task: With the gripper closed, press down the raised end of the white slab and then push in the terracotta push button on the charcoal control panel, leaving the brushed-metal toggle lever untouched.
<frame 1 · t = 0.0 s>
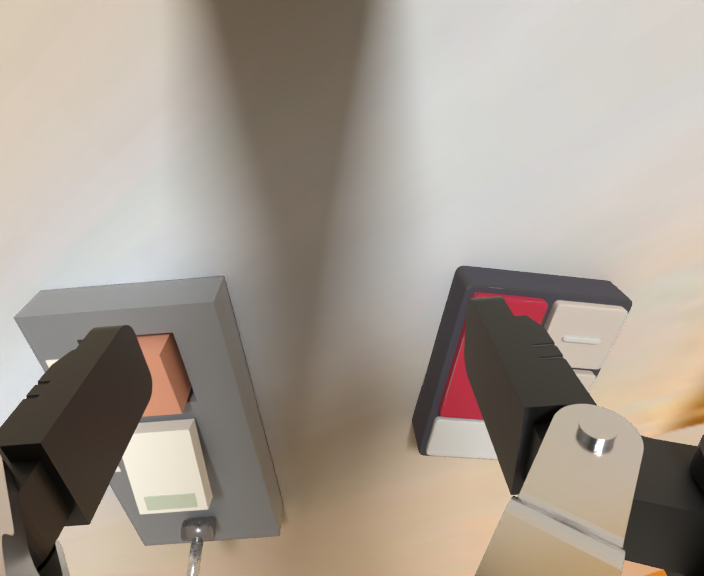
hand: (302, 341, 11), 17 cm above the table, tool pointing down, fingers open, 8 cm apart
toggle lever: (197, 543, 37), point 5 cm above the table, hinge at 20.0°
panel: (185, 421, 37), on the table
white slab: (166, 468, 33), point 5 cm above the table, hinge at -12.0°
calculator: (500, 353, 35), on the table
push button: (139, 373, 30), point 3 cm above the table, slide at 0.0 cm
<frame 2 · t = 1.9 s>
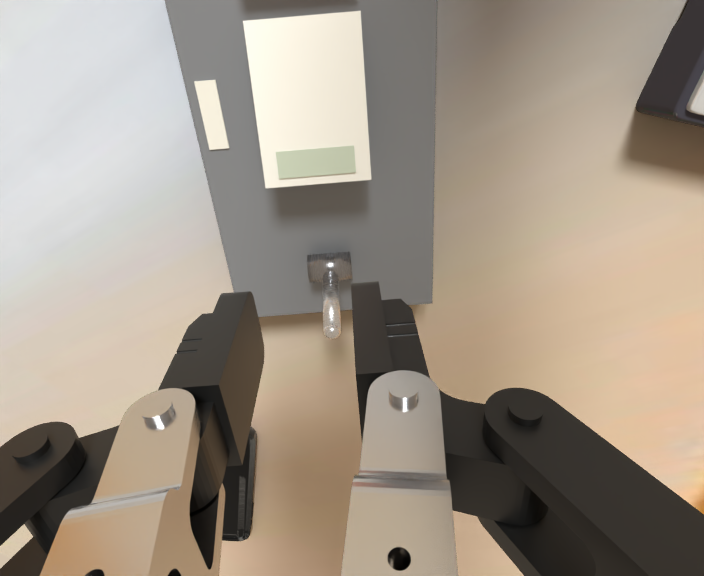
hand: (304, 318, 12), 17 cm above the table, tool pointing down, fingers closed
toggle lever: (330, 281, 25), point 5 cm above the table, hinge at 20.0°
panel: (315, 98, 25), on the table
white slab: (311, 105, 21), point 5 cm above the table, hinge at -12.0°
phone: (211, 476, 42), on the table
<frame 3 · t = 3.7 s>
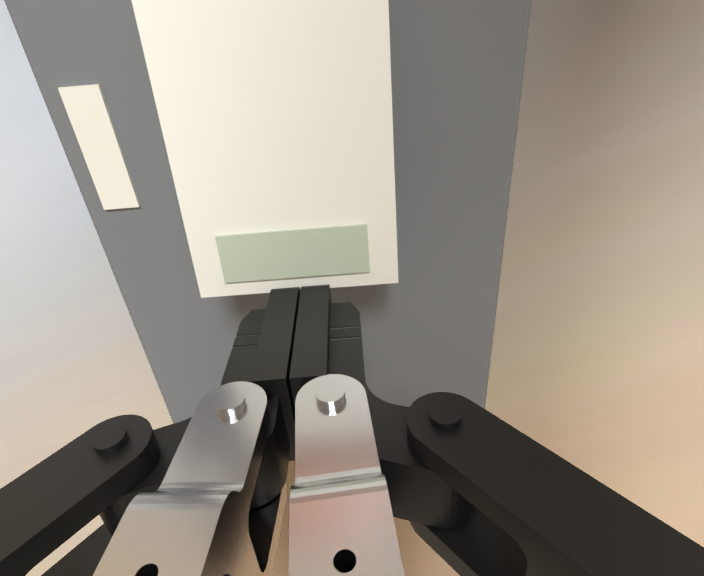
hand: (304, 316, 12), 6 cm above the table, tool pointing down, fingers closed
panel: (298, 112, 15), on the table
white slab: (283, 143, 11), point 5 cm above the table, hinge at -7.3°, touching gripper
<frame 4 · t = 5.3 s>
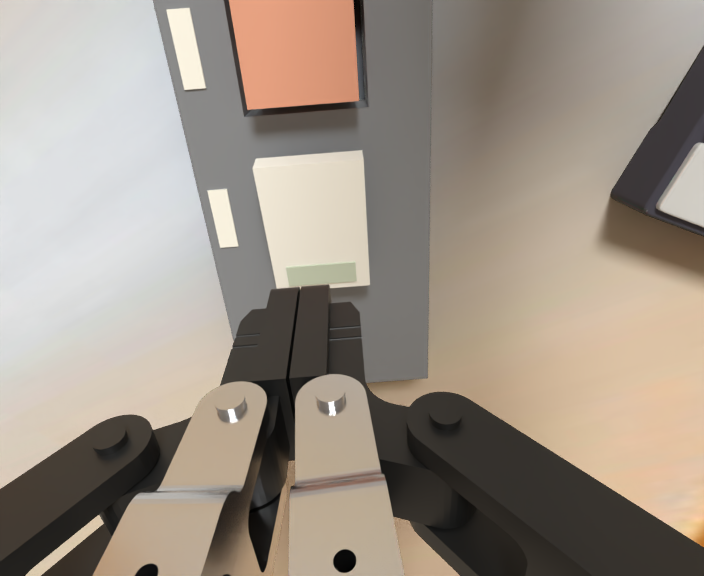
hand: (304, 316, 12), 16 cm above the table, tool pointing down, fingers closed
panel: (318, 194, 27), on the table
white slab: (316, 226, 23), point 5 cm above the table, hinge at 7.7°
push button: (298, 41, 21), point 3 cm above the table, slide at 0.0 cm
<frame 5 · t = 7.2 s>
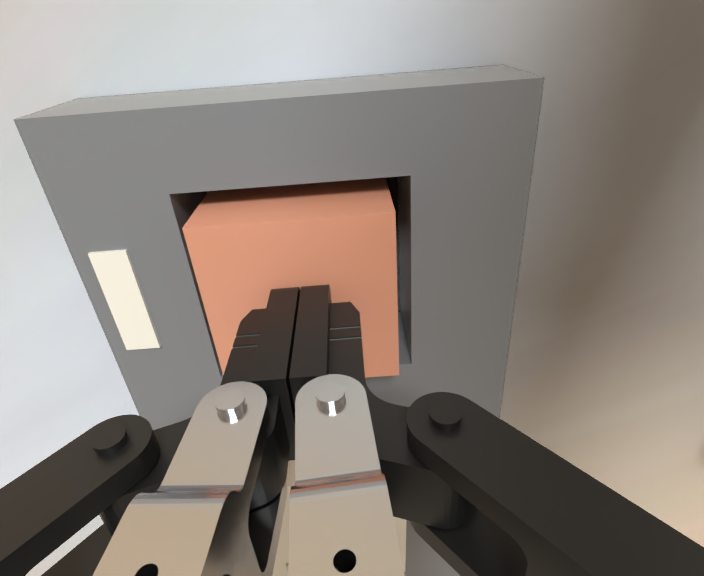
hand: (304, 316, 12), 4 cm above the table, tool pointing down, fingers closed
panel: (331, 413, 20), on the table
white slab: (330, 519, 16), point 5 cm above the table, hinge at 8.7°
push button: (305, 282, 13), point 3 cm above the table, slide at 0.5 cm, touching gripper
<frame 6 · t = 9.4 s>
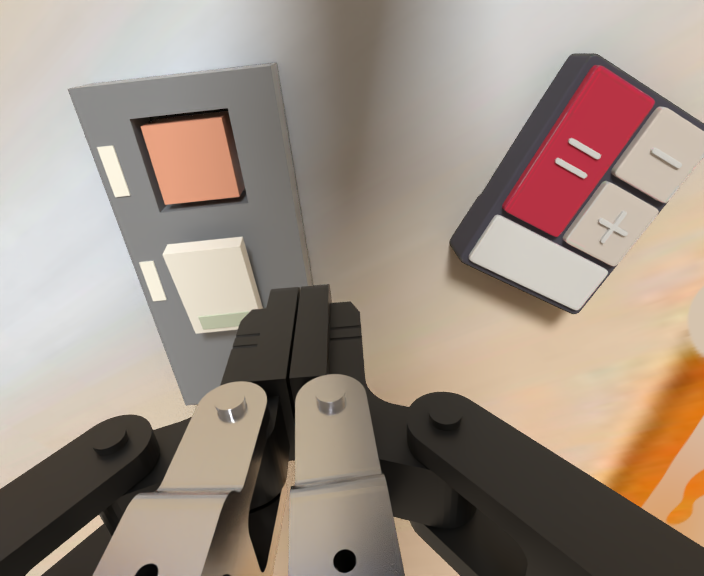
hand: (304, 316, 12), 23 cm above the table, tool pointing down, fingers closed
panel: (230, 256, 36), on the table
white slab: (217, 288, 32), point 5 cm above the table, hinge at 8.8°
calculator: (561, 186, 35), on the table
push button: (197, 157, 31), point 2 cm above the table, slide at 1.5 cm
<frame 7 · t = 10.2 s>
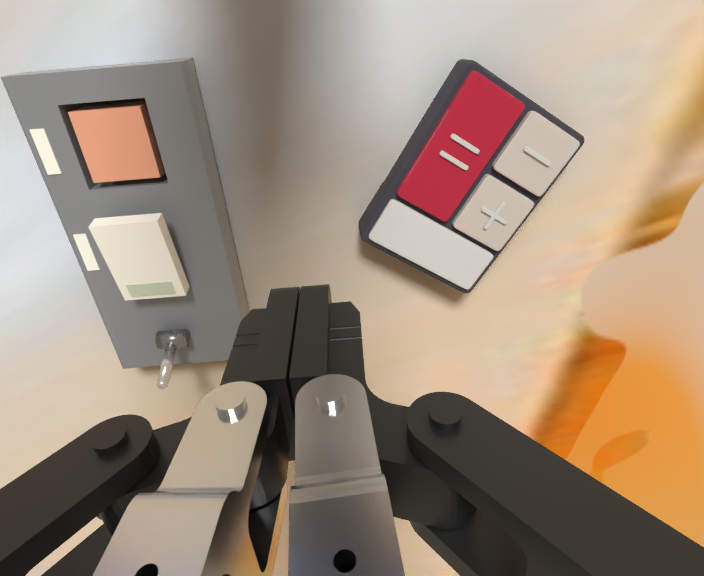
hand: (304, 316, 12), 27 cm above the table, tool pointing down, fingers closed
toggle lever: (170, 349, 40), point 5 cm above the table, hinge at 20.0°
panel: (160, 232, 40), on the table
white slab: (142, 259, 36), point 5 cm above the table, hinge at 8.8°
calculator: (458, 178, 39), on the table
push button: (123, 141, 34), point 2 cm above the table, slide at 1.5 cm
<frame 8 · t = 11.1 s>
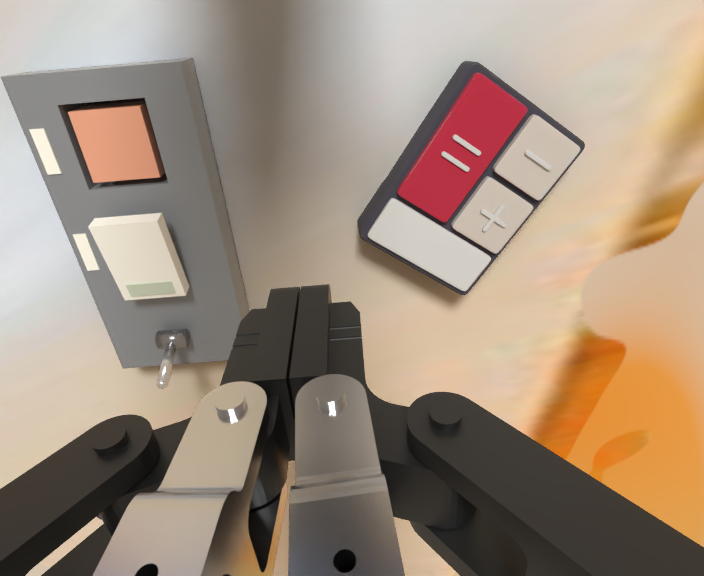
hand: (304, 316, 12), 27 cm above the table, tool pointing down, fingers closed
toggle lever: (170, 349, 40), point 5 cm above the table, hinge at 20.0°
panel: (160, 232, 40), on the table
white slab: (142, 259, 36), point 5 cm above the table, hinge at 8.8°
calculator: (458, 180, 39), on the table
push button: (123, 141, 34), point 2 cm above the table, slide at 1.5 cm
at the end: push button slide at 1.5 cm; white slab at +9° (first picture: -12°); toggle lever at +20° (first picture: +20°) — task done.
